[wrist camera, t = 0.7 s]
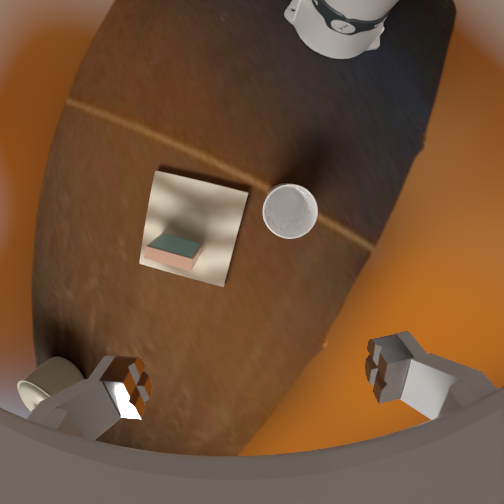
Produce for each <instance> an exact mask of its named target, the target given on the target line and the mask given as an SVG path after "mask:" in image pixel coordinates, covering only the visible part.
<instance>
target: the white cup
mask: <svg viewBox="0 0 504 504" xmlns="http://www.w3.org/2000/svg"><path fill="white" fill-rule="evenodd" d="M317 215H318V207H317V203H316V200H315V198H314V197H313V195H312V194H311V193H310V192H309V191H308V190H307V189H306V188H304V187H302V186H299V185H296V184H291V183H282V184H278V185H276V186H274V187H273V188H271V190H270V191H269V192H268V193H267V195H266V197H265V200H264V205H263V218H264V221H265V223H266V225H267V227H268V228H269V229H270V230H271V231H272V232H273V233H274V234H276V235H277V236H280V237H283V238H289V239H291V238H298V237H300V236H303V235H304V234H306V233H307V232H309V231H310V230H311V228H312V227H313V226H314V224H315V222H316V219H317Z"/></svg>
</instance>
